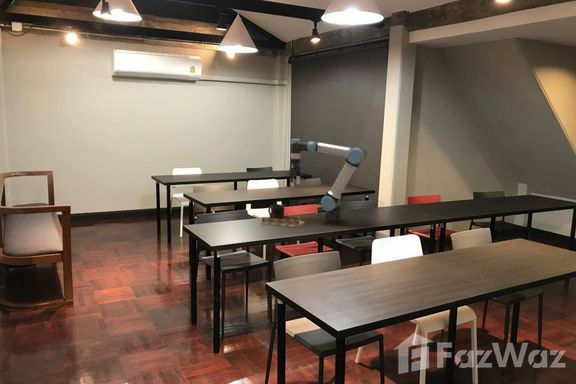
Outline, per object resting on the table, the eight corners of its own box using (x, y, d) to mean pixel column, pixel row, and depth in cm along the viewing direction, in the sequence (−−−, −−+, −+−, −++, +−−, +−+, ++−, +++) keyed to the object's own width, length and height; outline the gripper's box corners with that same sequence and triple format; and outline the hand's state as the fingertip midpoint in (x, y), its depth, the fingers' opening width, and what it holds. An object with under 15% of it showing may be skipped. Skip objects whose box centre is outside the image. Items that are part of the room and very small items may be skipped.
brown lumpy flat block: (305, 223, 365) (305, 217, 365) (298, 227, 350) (298, 220, 350) (270, 220, 376) (270, 214, 375) (262, 224, 361) (262, 217, 361)
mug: (278, 222, 357) (278, 207, 355) (264, 220, 366) (264, 205, 364) (287, 220, 366) (287, 205, 364) (272, 218, 374) (272, 203, 373)
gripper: (296, 157, 380) (296, 183, 383) (285, 159, 357) (285, 186, 361) (305, 157, 378) (304, 183, 381) (294, 159, 355) (294, 187, 358)
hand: (295, 185), depth 371 cm, fingers open, 13 cm apart
